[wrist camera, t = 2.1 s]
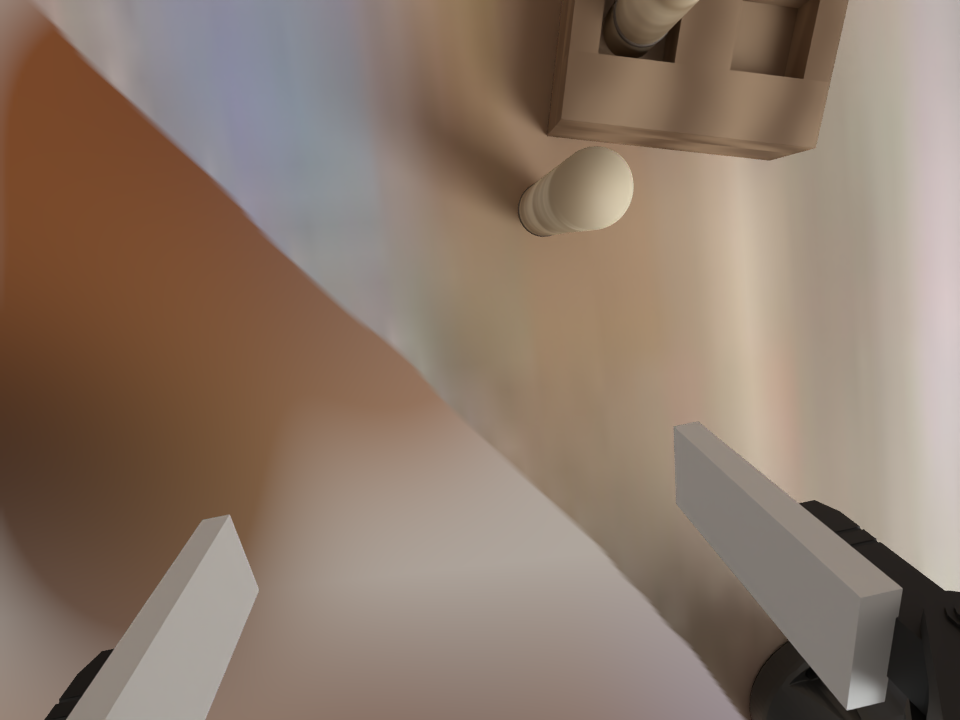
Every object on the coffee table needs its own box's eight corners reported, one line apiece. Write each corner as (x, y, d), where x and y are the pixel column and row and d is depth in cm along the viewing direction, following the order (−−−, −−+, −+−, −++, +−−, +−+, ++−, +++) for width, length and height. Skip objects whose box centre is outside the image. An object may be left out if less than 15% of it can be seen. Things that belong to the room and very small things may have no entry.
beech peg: (566, 188, 34) (640, 149, 21) (559, 239, 35) (627, 234, 22) (516, 183, 34) (559, 140, 21) (511, 234, 35) (549, 227, 21)
